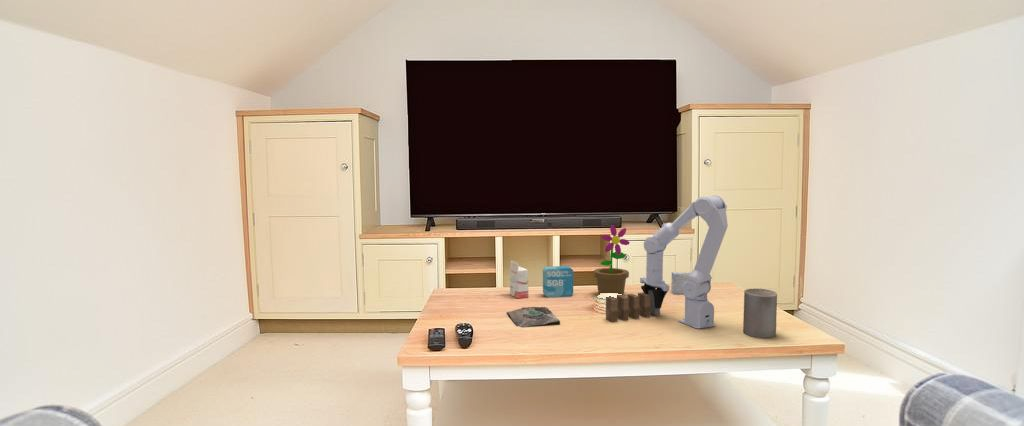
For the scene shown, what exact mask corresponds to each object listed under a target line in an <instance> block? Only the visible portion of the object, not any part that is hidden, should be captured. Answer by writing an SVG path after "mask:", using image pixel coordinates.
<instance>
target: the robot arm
mask: <svg viewBox="0 0 1024 426" xmlns="http://www.w3.org/2000/svg"><path fill="white" fill-rule="evenodd" d="M727 208H728V205H727V204H726V202H725V201H724V199H723V198H722V197H721V196H719V195H712V196H700V197H699V198H697V199H696V200H695V201H693V202H692V203H690V205H689V206H688V207H687V208H686V209H685V210H684V211H683V212H682V213H681V214H680V215H679V216H678V217H677V218H676V219H674V221H673V222H667V223H663V224H661V227H660V229H658V231H655V232H653V234H652V236H648V237H646V239H645V240H644V241H643V249H644V251H646V267H645V269H646V273H645V275H646V276H645V277H640V278H639V283H640V284H644V285H641V286H640V288H641V290H642V292H643V293H645V294H648V290H652V292H653V295H654V302H655V308H656V309H658V308H660V309H661V308H662V306H663V302H664V299H665V297H666V295H667V293H668V292H670V285H669V284H667V283H666V282H665V280H664V279H663V274H664V251H665V250H666V249H667V246H668V245H669V244H670V243H671V242H673V240H675V239H676V238H678V236H679V235H680V230H681V229H682V228H684V227H685V226H686V225H687V224H689V222H691V221H693V219H695V218H697V217H700V218H701V219H702V220H703V221H704V222H705V223H706V225H707V227H708V229H707V233H706V234H705V237H704V240H703V243H702V246H701V249H700V252H699V254H698V257H697V260H696V263H695V265H694V268H693V270H692V272H690V273H691V274H690V275H689V276H688V278H687V280H686V281H685V282H684V283H683V284H682V293H683V294H682V295H683V296H684V319H679V320H678V322H680V323H682V324H684V325H686V326H689V327H692V328H695V329H697V330H698V329H704V328H711V327H716V325H717V324H715V307H714V304H713V303H712V302H710V301H709V299H708V293H710V292H711V290H712V285H711V283H712V279H713V277H712V275H711V272H712V270H713V266H714V264H715V261H716V259H717V255H718V253H719V251H720V248H721V245H722V243H723V241H724V240H723V239H724V237H725V234H726V232H727V229H728V225H729V224H728V218H727V217H728V215H727Z"/></svg>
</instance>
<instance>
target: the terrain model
mask: <svg viewBox="0 0 1024 426" xmlns="http://www.w3.org/2000/svg"><path fill="white" fill-rule="evenodd" d="M506 314H507V316H508V317H509V319H510V320H511V321H512V323H513V324H514V325H515V327H519V328H536V327H546V326H547V327H549V326H560V325H561V320H559V318H557V316H556V315H555V314H554V313H553V312H552V311H551V310H550V309H549V308H548V307H546V306H541V307H540V306H531V307H529V306H528V307H521V308H519V309H515V310H511V311H507V312H506Z"/></svg>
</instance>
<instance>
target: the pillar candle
mask: <svg viewBox="0 0 1024 426" xmlns="http://www.w3.org/2000/svg"><path fill="white" fill-rule="evenodd" d="M777 306H778V293H777V292H776V291H774V290H770V289H765V288H747V289H745V290H744V296H743V321H742V323H743V325H742V326H743V327H742V331H743V332H742V333H743V334H744V335H746V336H749V337H753V338H758V339H767V338H769V339H770V338H772V339H773V338H775V337H776V336H777V308H778V307H777Z"/></svg>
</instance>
